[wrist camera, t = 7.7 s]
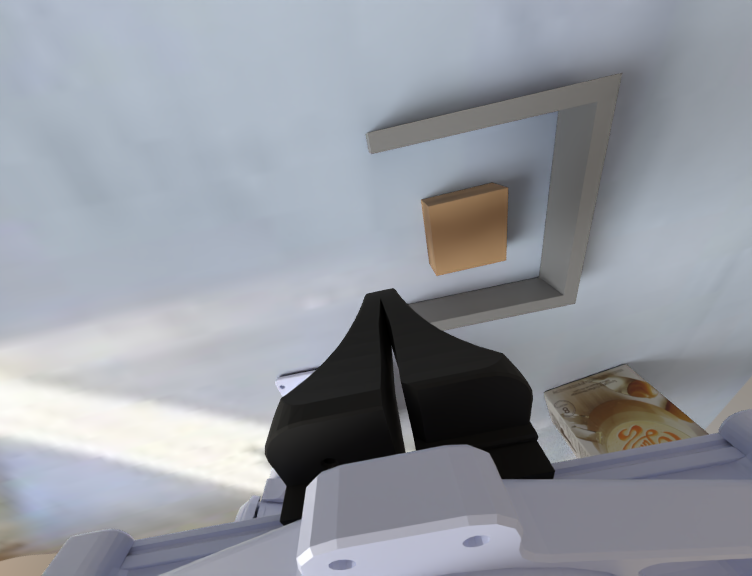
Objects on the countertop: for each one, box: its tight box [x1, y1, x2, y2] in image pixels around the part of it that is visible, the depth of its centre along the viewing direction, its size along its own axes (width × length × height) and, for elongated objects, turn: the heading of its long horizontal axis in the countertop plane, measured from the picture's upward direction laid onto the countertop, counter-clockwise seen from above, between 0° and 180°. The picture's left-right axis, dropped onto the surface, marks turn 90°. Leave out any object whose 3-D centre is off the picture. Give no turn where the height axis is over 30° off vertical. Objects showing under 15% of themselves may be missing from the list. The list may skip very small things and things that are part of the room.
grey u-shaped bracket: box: [366, 73, 622, 331], centre depth 18 cm, size 14×13×3 cm
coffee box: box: [544, 364, 709, 459], centre depth 23 cm, size 9×6×16 cm
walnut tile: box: [421, 183, 508, 276], centre depth 19 cm, size 5×5×2 cm
